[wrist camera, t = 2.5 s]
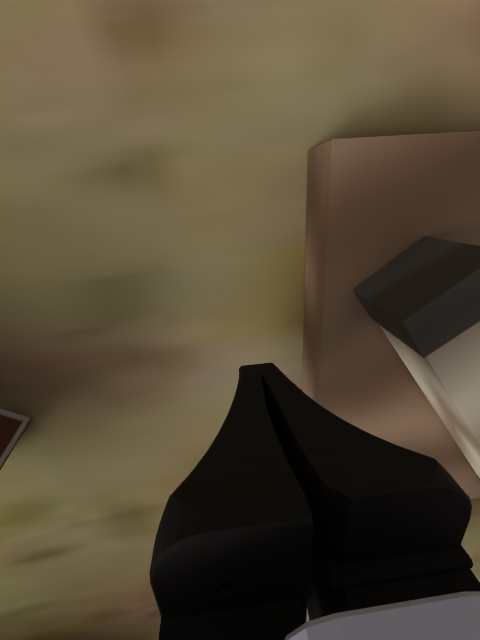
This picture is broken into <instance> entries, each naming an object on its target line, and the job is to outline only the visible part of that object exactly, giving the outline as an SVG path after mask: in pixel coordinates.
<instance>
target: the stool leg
mask: <svg viewBox="0 0 480 640" xmlns="http://www.w3.org/2000/svg"><path fill="white" fill-rule="evenodd" d="M353 292H354V293H355V295H356V296H357V298H358V299H359V301H360V302H361V304H362V305H363V307H364V308H365V310H366V311H367V313H368V314H369V316H370V317H371V319H372V320H374V321H375V322H376V323H378V324H379V325H380V327H381V328H382V330H383V332H384V333H385V335H386V336H387V338H388V339H389V341H390V342H391V344H392V345H393V347H394V348H395V350H396V351H397V353H398V354H399V356H400V358H401V359H402V361H403V362H404V364H405V365H406V367H407V368H408V370H409V371H410V373H411V374H412V376H413V377H414V379H415V380H416V382H417V384H418V385H419V387H420V388H421V390H422V391H423V393H424V394H425V396H426V397H427V399H428V400H429V402H430V403H431V405H432V406H433V408H434V410H435V411H436V413H437V414H438V416H439V417H440V419H441V420H442V422H443V423H444V425H445V426H446V428H447V429H448V431H449V432H450V434H451V436H452V437H453V439H454V440H455V442H456V443H457V445H458V446H459V448H460V449H461V451H462V452H463V454H464V455H465V457H466V458H467V460H468V462H469V463H470V465H471V466H472V468H473V469H474V471H475V472H476V474H477V475H478V477H479V480H480V246H476V245H471V244H465V243H460V242H455V241H449V240H444V239H438V238H433V237H427V236H425V237H423V238H422V239H421V240H419V241H418V242H417V243H415V244H414V245H412V246H411V247H410V248H408V249H407V250H406V251H404V252H403V253H402V254H400V255H399V256H398V257H396V258H395V259H394V260H392V261H391V262H389V263H388V264H387V265H385V266H384V267H383V268H381V269H380V270H379V271H377V272H376V273H375V274H373V275H372V276H371V277H369V278H368V279H366V280H365V281H364V282H362V283H361V284H360V285H358V286H357V287H356V288H354V289H353Z"/></svg>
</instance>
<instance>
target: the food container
mask: <svg viewBox="0 0 480 640" xmlns="http://www.w3.org/2000/svg"><path fill="white" fill-rule="evenodd" d="M30 419H31V418H30V417H27V416H23V415H20V414H17V413H14V412H10V411H7V410H4V409H0V470H1V468H2V467H3V465H4V463H5V462H6V460H7V458H8V457H9V455H10V453H11V452H12V450H13V449H14V447H15V445H16V444H17V442H18V440H19V439H20V437H21V435H22V434H23V432H24V430H25V429H26V427H27V425H28V423H29V421H30Z"/></svg>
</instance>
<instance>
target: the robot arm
mask: <svg viewBox="0 0 480 640" xmlns="http://www.w3.org/2000/svg"><path fill="white" fill-rule="evenodd" d="M471 509H472V506H471V502H470V498H469V496H468V495H467V494H466V493H465V492H464V490H463V489H462V488H461V487H460V486H459V484H458V483H457V482H456V481H455V480H454V478H453V477H452V476H451V475H450V474H449V473H448V472H447V470H446V469H445V468H444V467H443V466H442V465H441V464H440V463H439V462H438V461H437V460H436V459H435V458H432V457H429V456H426V455H423V454H420V453H417V452H415V451H412V450H409V449H406V448H403V447H400V446H398V445H395V444H393V443H390V442H388V441H386V440H383V439H381V438H379V437H376V436H374V435H372V434H370V433H368V432H366V431H364V430H362V429H360V428H358V427H356V426H354V425H352V424H350V423H348V422H347V421H345V420H343V419H341V418H340V417H338V416H336V415H335V414H333V413H332V412H330V411H328V410H327V409H325V408H324V407H322V406H321V405H319V404H318V403H317V402H315V401H314V400H313V399H311V398H310V397H309V396H308V395H306V394H305V393H304V392H303V391H302V390H300V389H299V388H298V387H297V386H296V385H295V384H294V383H293V382H291V381H290V380H289V379H288V378H287V377H286V376H285V375H284V374H283V373H282V372H281V371H280V370H279V369H278V368H277V367H276V366H275V365H274V364H273V363H264V364H255V365H245V366H241V367H240V368H239V381H238V386H237V389H236V393H235V397H234V400H233V402H232V405H231V407H230V410H229V413H228V415H227V417H226V419H225V421H224V423H223V425H222V427H221V429H220V431H219V433H218V434H217V436H216V438H215V440H214V441H213V443H212V445H211V446H210V448H209V449H208V451H207V452H206V453H205V455H204V456H203V457H202V459H201V460H200V461H199V463H198V464H197V466H196V467H195V468H194V470H193V471H192V472H191V473H190V474H189V476H188V477H187V478H186V479H185V480H184V481H183V482H182V483H181V484H180V486H179V487H178V488H177V489H176V490H175V491H174V492H173V493H172V494H171V495H170V497H169V499H168V502H167V504H166V507H165V510H164V512H163V515H162V518H161V521H160V524H159V528H158V532H157V535H156V539H155V543H154V549H153V555H152V562H151V568H150V582H151V586H152V589H153V592H154V596H155V599H156V602H157V605H158V608H159V611H160V614H161V624H160V633H159V640H480V582H479V581H478V580H477V578H476V577H475V575H474V574H473V573H472V571H471V570H470V568H472V566H473V562H472V559H471V558H470V557H469V555H468V554H467V553H466V551H465V550H464V548H463V547H462V546H461V542H462V539H463V536H464V534H465V531H466V528H467V526H468V523H469V520H470V515H471Z"/></svg>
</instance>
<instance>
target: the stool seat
mask: <svg viewBox="0 0 480 640" xmlns="http://www.w3.org/2000/svg"><path fill="white" fill-rule="evenodd" d="M425 236H427V237H433V238H438V239H444V240H449V241H455V242H460V243H465V244H471V245H476V246H480V131H464V132H447V133H430V134H412V135H395V136H377V137H360V138H343V139H331V140H329V141H327V142H325V143H323V144H320V145H318V146H316V147H314V148H312V149H310V150H308V169H307V211H306V252H305V294H304V336H303V377H302V391H303V392H304V393H305V394H306V395H308V396H309V397H310V398H311V399H313V400H314V401H315V402H317V403H318V404H319V405H321V406H322V407H324V408H325V409H327V410H328V411H330V412H332V413H333V414H335V415H336V416H338V417H340V418H341V419H343V420H345V421H347V422H348V423H350V424H352V425H354V426H356V427H358V428H360V429H362V430H364V431H366V432H368V433H370V434H372V435H374V436H376V437H379V438H381V439H383V440H386V441H388V442H390V443H393V444H395V445H398V446H400V447H403V448H406V449H409V450H412V451H415V452H417V453H420V454H423V455H426V456H429V457H432V458H435V459H436V460H437V461H438V462H439V463H440V464H441V465H442V466H443V467H444V468H445V469H446V470H447V472H448V473H449V474H450V475H451V476H452V477H453V478H454V480H455V481H456V482H457V483H458V484H459V486H460V487H461V488H462V489H463V490H464V492H465V493H466V494H467V495H468V496H469V498H470V499H476V498H480V480H479V477H478V475H477V474H476V472H475V471H474V469H473V468H472V466H471V465H470V463H469V462H468V460H467V458H466V457H465V455H464V454H463V452H462V451H461V449H460V448H459V446H458V445H457V443H456V442H455V440H454V439H453V437H452V436H451V434H450V432H449V431H448V429H447V428H446V426H445V425H444V423H443V422H442V420H441V419H440V417H439V416H438V414H437V413H436V411H435V410H434V408H433V406H432V405H431V403H430V402H429V400H428V399H427V397H426V396H425V394H424V393H423V391H422V390H421V388H420V387H419V385H418V384H417V382H416V380H415V379H414V377H413V376H412V374H411V373H410V371H409V370H408V368H407V367H406V365H405V364H404V362H403V361H402V359H401V358H400V356H399V354H398V353H397V351H396V350H395V348H394V347H393V345H392V344H391V342H390V341H389V339H388V338H387V336H386V335H385V333H384V332H383V330H382V328H381V327H380V325H379V324H378V323H376V322H375V321H374V320H372V319H371V317H370V316H369V314H368V313H367V311H366V310H365V308H364V307H363V305H362V304H361V302H360V301H359V299H358V298H357V296H356V295H355V293H354V292H353V289H354V288H356V287H357V286H358V285H360V284H361V283H362V282H364V281H365V280H366V279H368V278H369V277H371V276H372V275H373V274H375V273H376V272H377V271H379V270H380V269H381V268H383V267H384V266H385V265H387V264H388V263H389V262H391V261H392V260H394V259H395V258H396V257H398V256H399V255H400V254H402V253H403V252H404V251H406V250H407V249H408V248H410V247H411V246H412V245H414V244H415V243H417V242H418V241H419V240H421V239H422V238H423V237H425Z"/></svg>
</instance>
